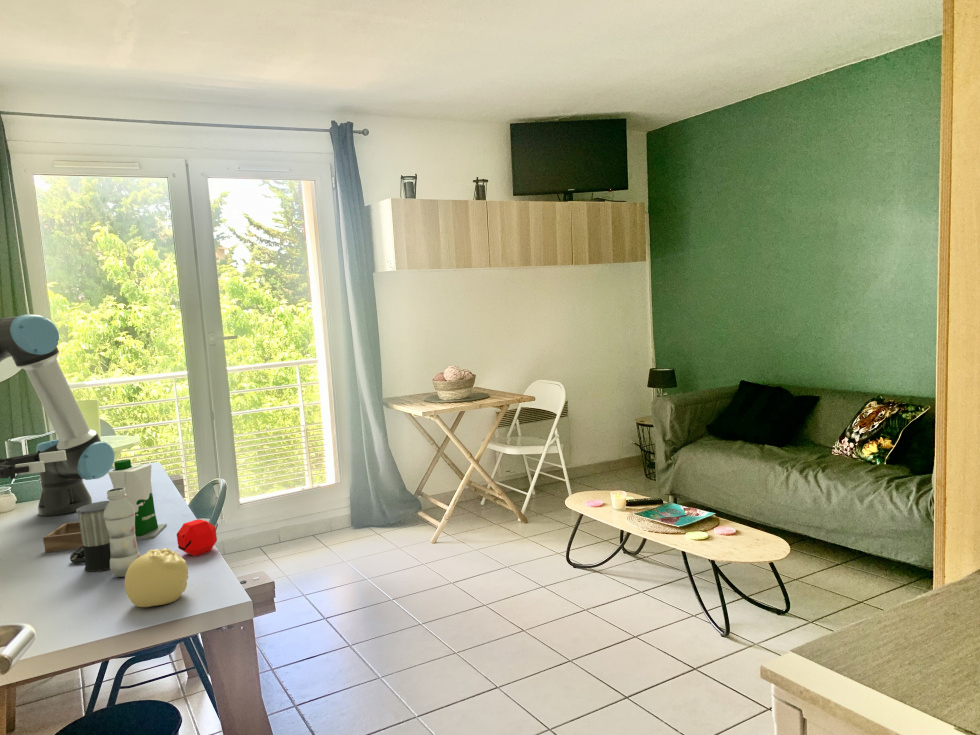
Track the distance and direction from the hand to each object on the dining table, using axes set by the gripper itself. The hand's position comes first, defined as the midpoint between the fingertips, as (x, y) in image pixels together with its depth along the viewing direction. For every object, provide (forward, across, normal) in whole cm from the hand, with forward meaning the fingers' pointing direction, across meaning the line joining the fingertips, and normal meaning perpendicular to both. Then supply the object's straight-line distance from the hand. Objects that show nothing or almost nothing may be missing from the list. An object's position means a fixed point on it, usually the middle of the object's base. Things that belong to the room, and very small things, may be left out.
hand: (55, 460), depth 195 cm
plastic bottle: (+26, +34, -23) cm, 48 cm away
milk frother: (+15, +21, -23) cm, 35 cm away
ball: (+39, +24, -23) cm, 51 cm away
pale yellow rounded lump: (+38, +54, -23) cm, 70 cm away
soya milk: (+18, 0, -23) cm, 29 cm away
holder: (+3, 0, -23) cm, 23 cm away
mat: (+18, 0, -23) cm, 29 cm away
